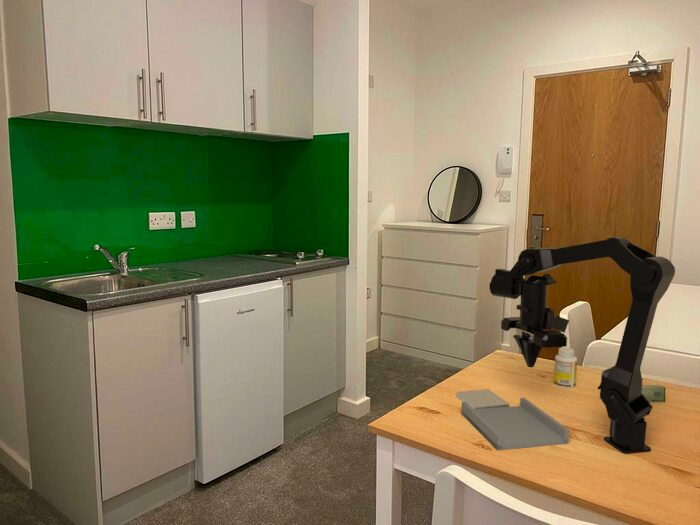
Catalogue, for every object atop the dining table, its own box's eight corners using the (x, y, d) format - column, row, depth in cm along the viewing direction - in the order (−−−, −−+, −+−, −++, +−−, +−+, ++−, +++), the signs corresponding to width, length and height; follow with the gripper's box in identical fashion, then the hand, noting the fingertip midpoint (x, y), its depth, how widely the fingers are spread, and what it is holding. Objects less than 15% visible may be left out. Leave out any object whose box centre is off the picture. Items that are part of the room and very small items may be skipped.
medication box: (659, 400, 137) (660, 384, 137) (666, 403, 134) (666, 387, 134) (612, 399, 137) (613, 383, 137) (618, 402, 134) (619, 386, 134)
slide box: (568, 443, 112) (569, 430, 111) (497, 450, 109) (497, 436, 108) (523, 409, 129) (524, 397, 129) (461, 414, 126) (461, 402, 126)
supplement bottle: (566, 381, 149) (569, 345, 148) (580, 388, 144) (582, 351, 143) (549, 383, 148) (551, 347, 147) (561, 390, 142) (564, 352, 141)
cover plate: (508, 411, 129) (509, 404, 129) (474, 415, 127) (475, 407, 127) (487, 396, 139) (488, 389, 139) (456, 399, 137) (456, 391, 136)
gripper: (590, 308, 118) (586, 377, 120) (541, 293, 136) (538, 353, 138) (544, 310, 115) (541, 380, 117) (501, 295, 133) (498, 356, 135)
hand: (530, 366), depth 127 cm, fingers closed
